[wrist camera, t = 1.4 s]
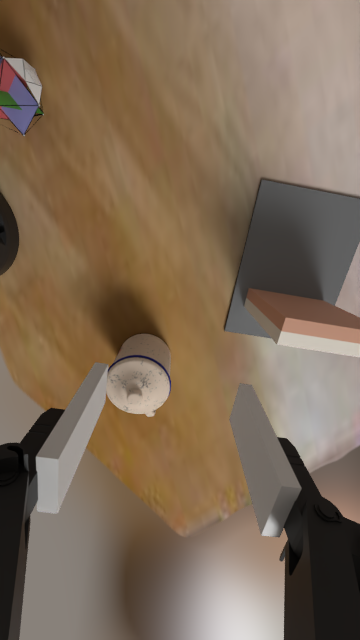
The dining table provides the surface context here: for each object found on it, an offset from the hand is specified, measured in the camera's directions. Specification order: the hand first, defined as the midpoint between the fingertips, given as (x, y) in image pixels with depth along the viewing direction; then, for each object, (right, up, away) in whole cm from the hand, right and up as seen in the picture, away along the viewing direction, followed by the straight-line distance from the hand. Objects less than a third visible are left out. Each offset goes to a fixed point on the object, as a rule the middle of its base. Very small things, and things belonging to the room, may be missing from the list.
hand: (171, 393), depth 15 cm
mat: (+17, +12, +23) cm, 31 cm away
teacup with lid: (-5, -3, +28) cm, 29 cm away
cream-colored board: (+17, +7, +24) cm, 30 cm away
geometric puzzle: (-19, +31, +16) cm, 40 cm away
